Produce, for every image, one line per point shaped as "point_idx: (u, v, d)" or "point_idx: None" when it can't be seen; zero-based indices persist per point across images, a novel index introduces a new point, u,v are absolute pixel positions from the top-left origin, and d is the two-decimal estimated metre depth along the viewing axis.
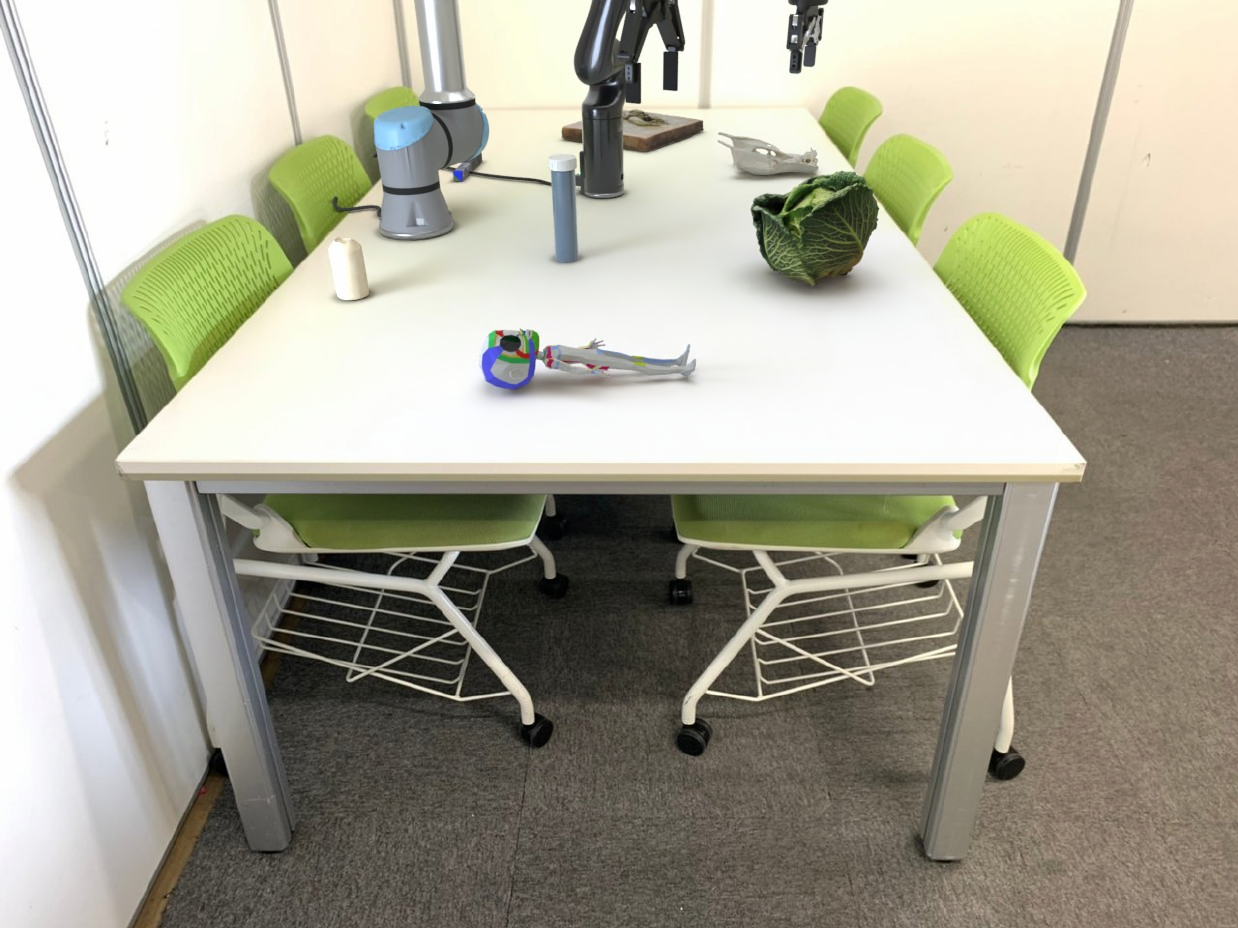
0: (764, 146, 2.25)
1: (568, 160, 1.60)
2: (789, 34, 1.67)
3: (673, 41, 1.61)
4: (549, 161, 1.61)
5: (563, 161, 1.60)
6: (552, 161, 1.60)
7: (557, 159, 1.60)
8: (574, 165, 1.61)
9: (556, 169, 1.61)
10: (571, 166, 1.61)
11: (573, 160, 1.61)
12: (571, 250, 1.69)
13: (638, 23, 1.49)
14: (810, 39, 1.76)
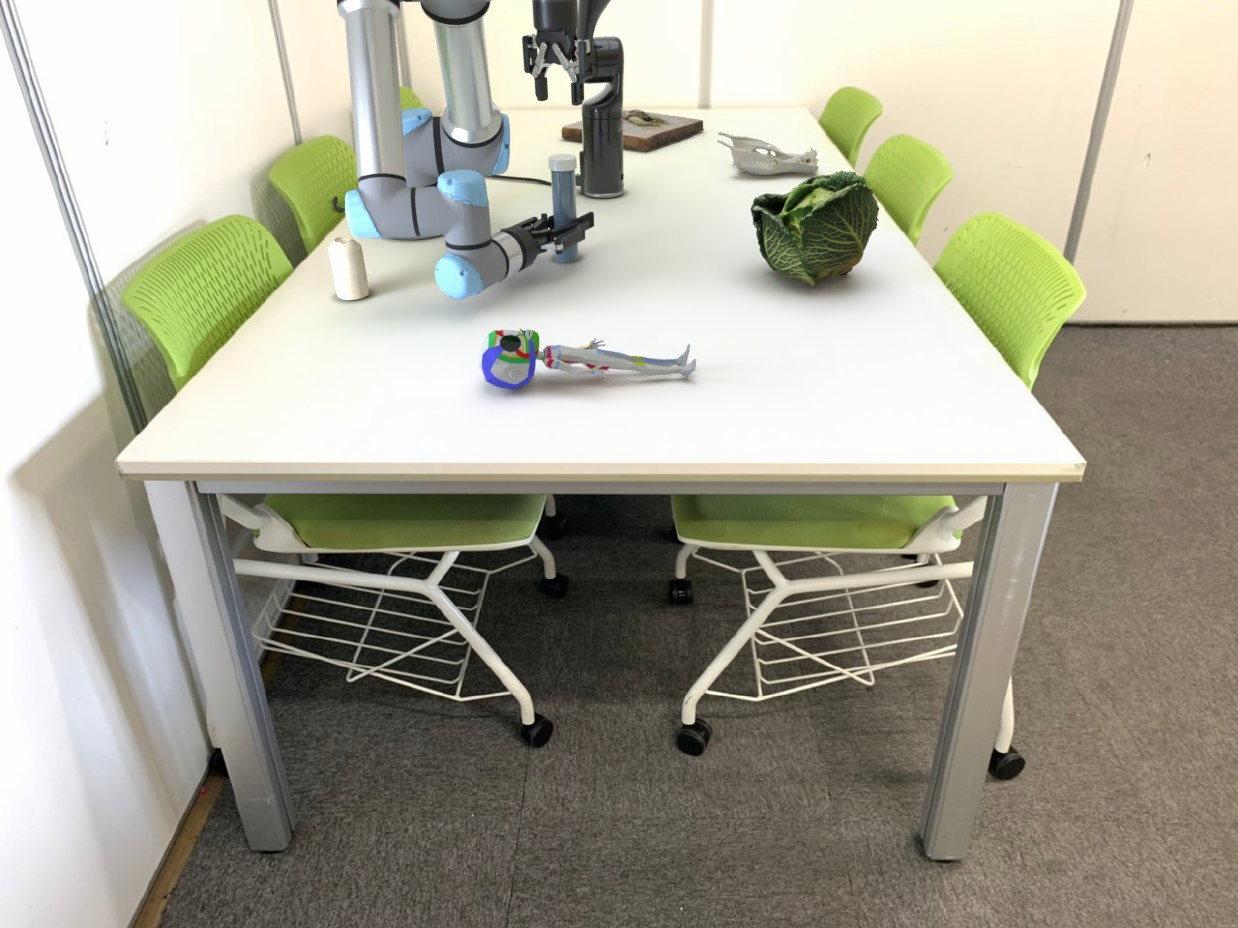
0: (764, 146, 2.25)
1: (568, 160, 1.60)
2: None
3: None
4: (549, 161, 1.61)
5: (563, 161, 1.60)
6: (552, 161, 1.60)
7: (557, 159, 1.60)
8: (574, 165, 1.61)
9: (556, 169, 1.61)
10: (571, 166, 1.61)
11: (573, 160, 1.61)
12: (571, 250, 1.69)
13: None
14: (577, 74, 1.52)
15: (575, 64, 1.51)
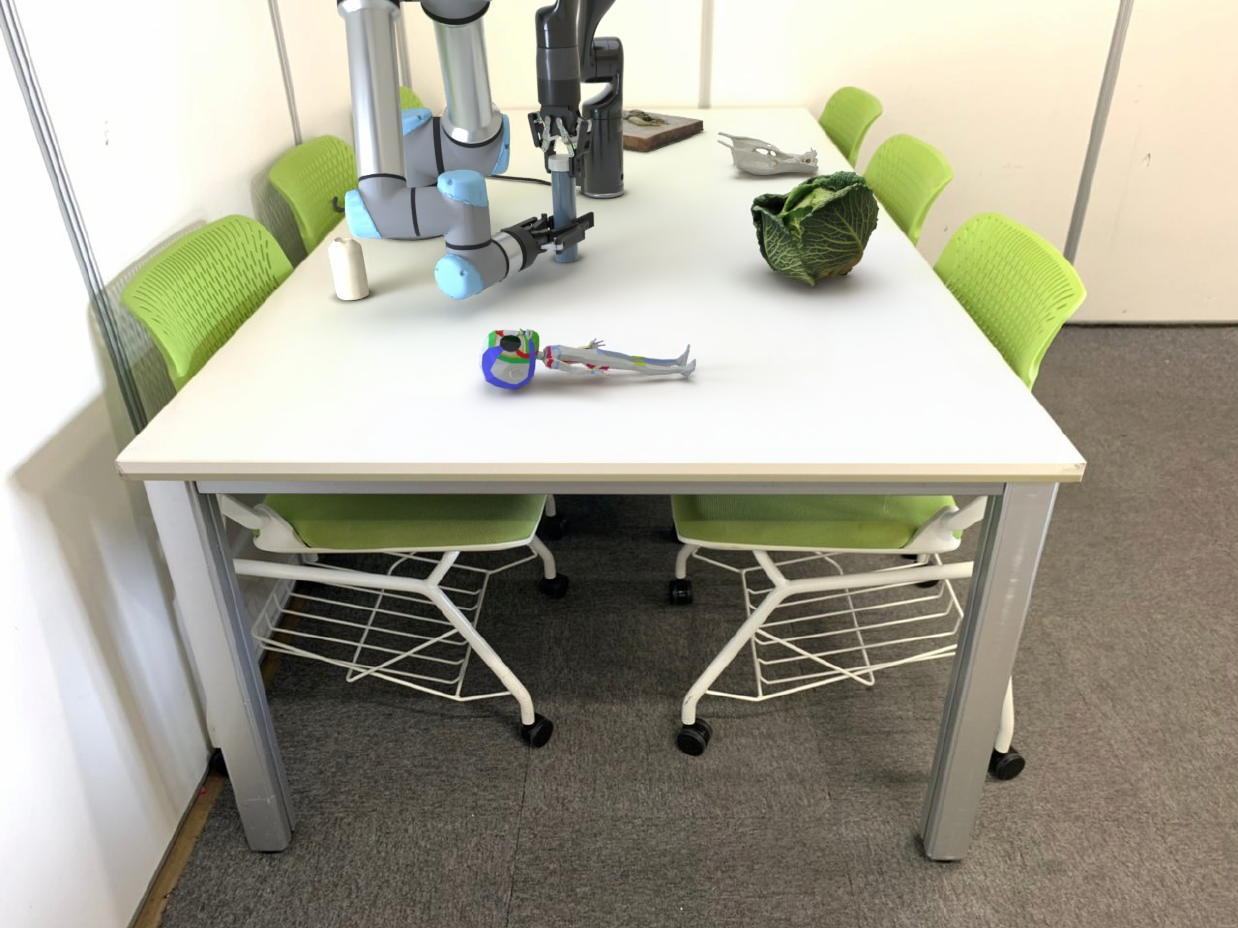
0: (764, 146, 2.25)
1: (568, 160, 1.60)
2: None
3: None
4: (549, 161, 1.61)
5: (563, 161, 1.60)
6: (552, 161, 1.60)
7: (557, 159, 1.60)
8: None
9: (556, 169, 1.61)
10: None
11: None
12: (571, 250, 1.69)
13: None
14: (575, 148, 1.59)
15: (575, 139, 1.58)
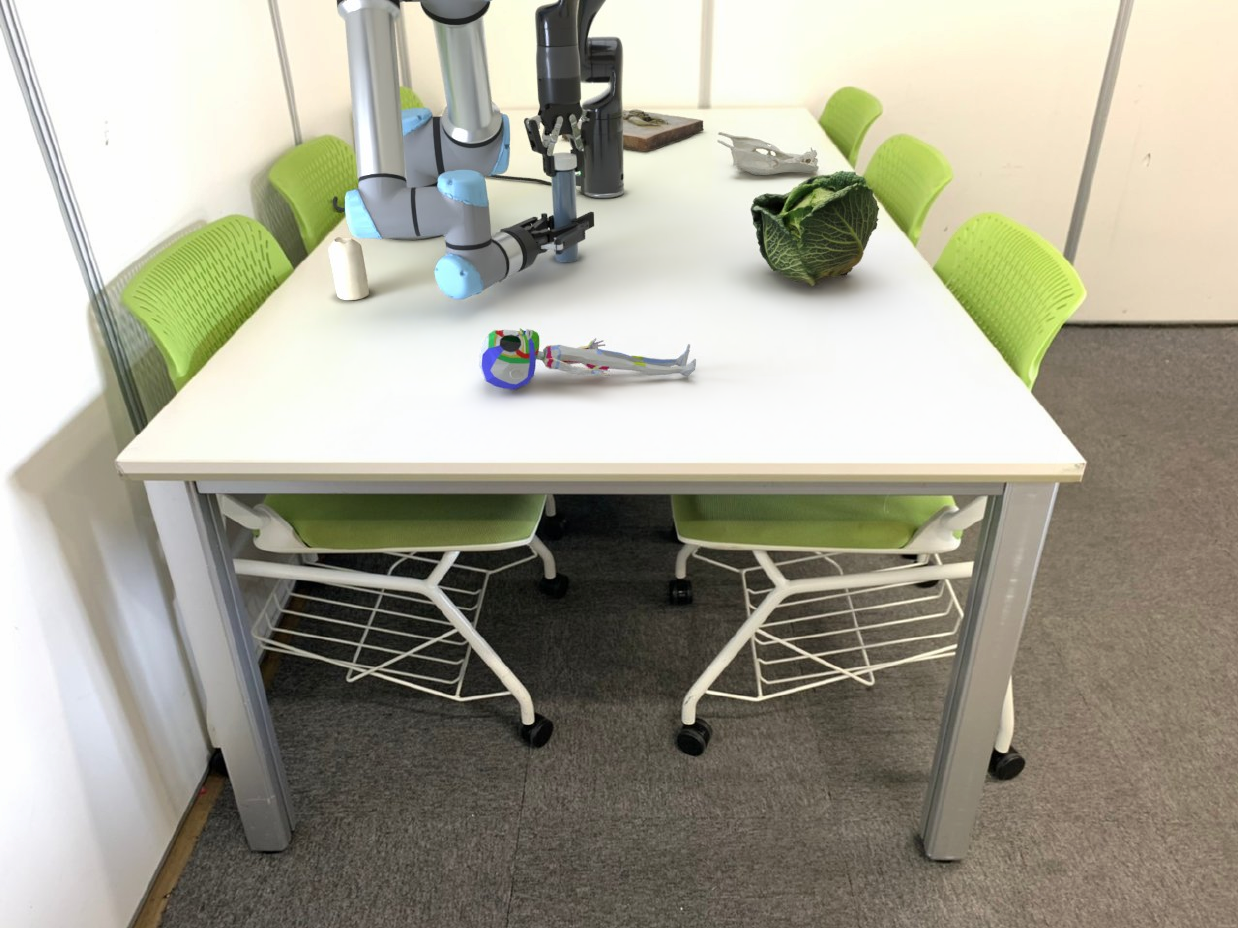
0: (764, 146, 2.25)
1: None
2: (529, 138, 1.57)
3: None
4: (562, 162, 1.60)
5: (575, 157, 1.61)
6: (568, 160, 1.60)
7: (569, 157, 1.60)
8: None
9: (572, 167, 1.61)
10: None
11: None
12: (571, 250, 1.69)
13: None
14: (575, 143, 1.62)
15: None
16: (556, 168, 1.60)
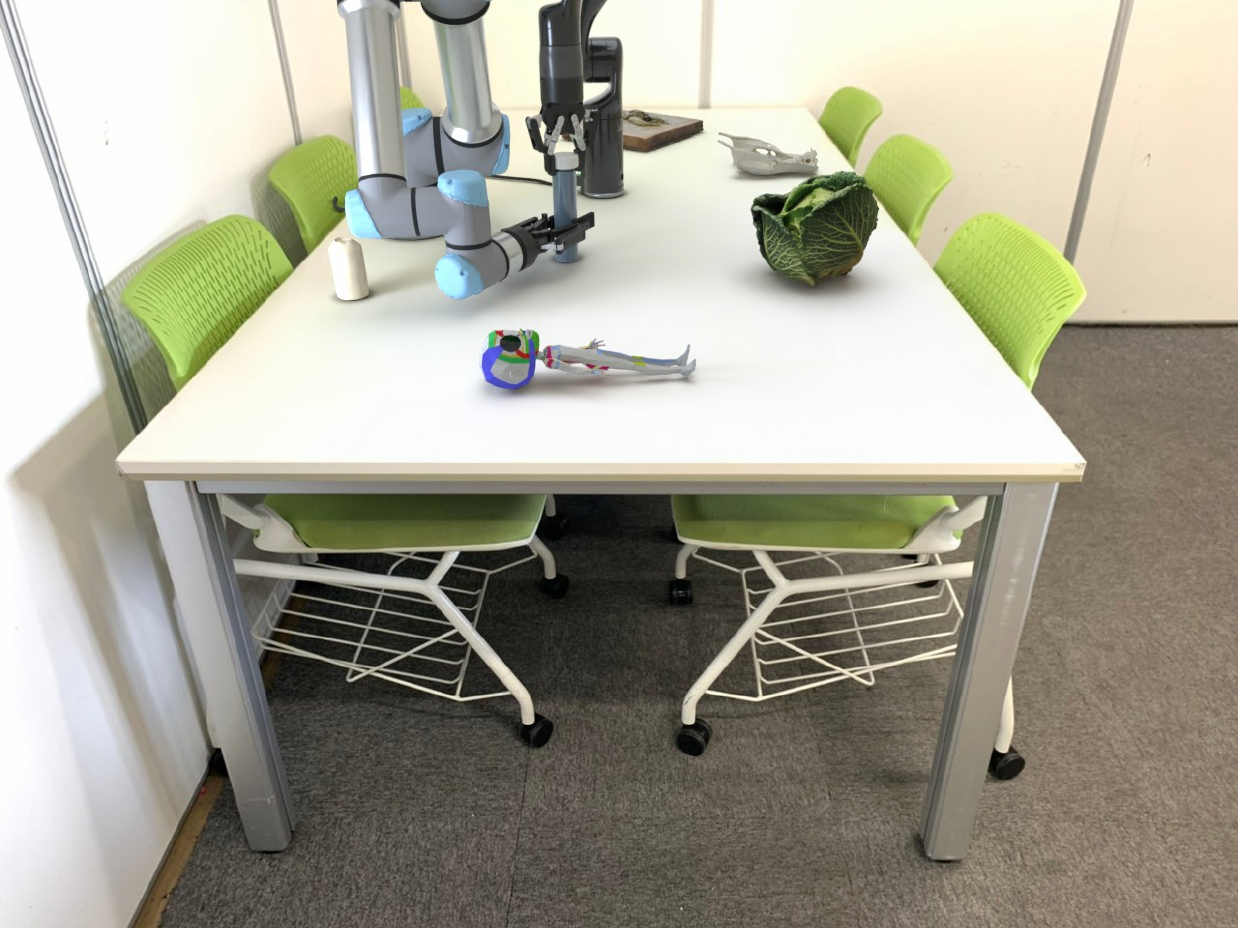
0: (764, 146, 2.25)
1: None
2: (530, 136, 1.58)
3: None
4: (577, 159, 1.61)
5: None
6: (577, 156, 1.62)
7: (574, 153, 1.62)
8: None
9: None
10: None
11: None
12: (571, 250, 1.69)
13: None
14: None
15: None
16: (573, 167, 1.61)
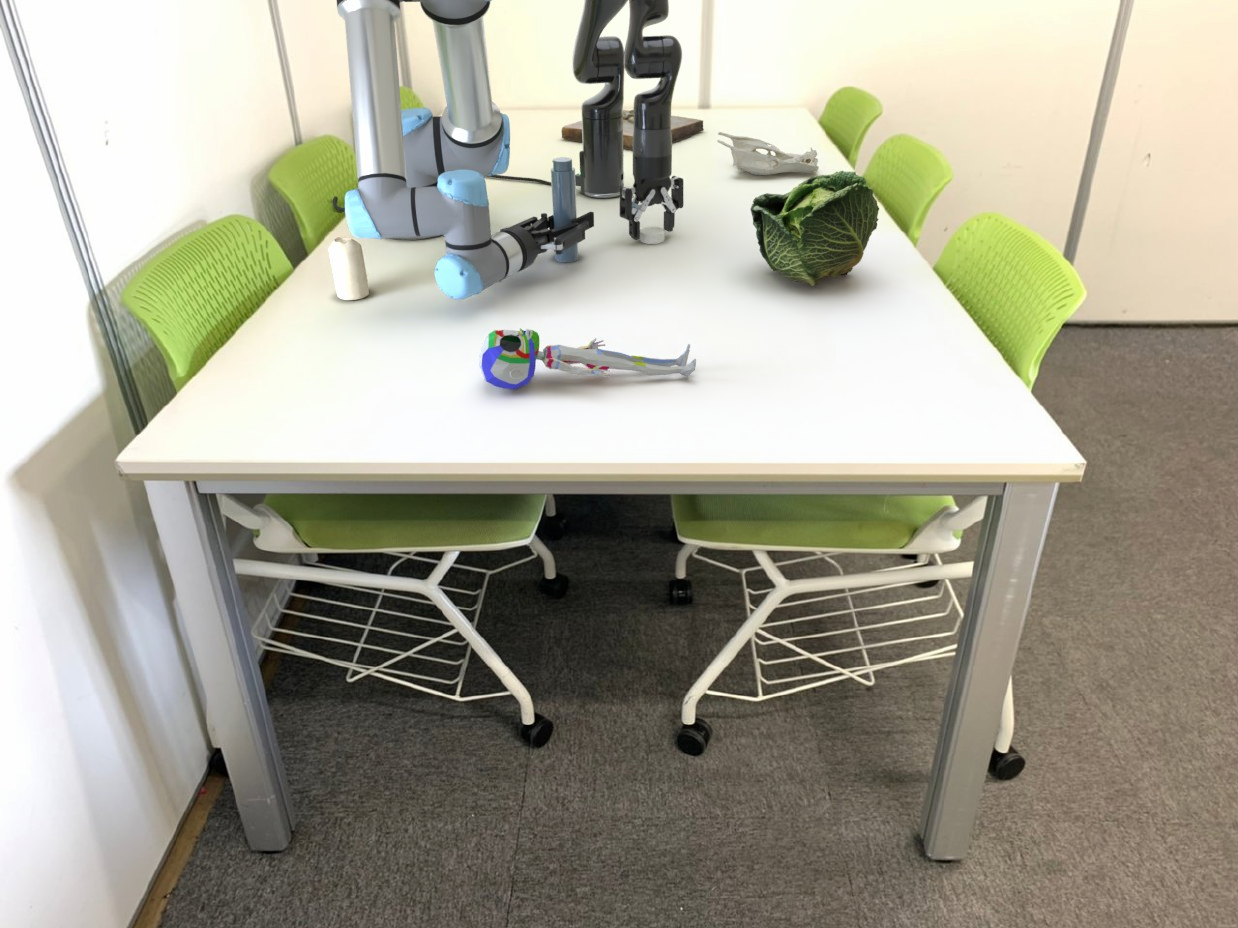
0: (764, 146, 2.25)
1: (652, 227, 1.81)
2: (620, 204, 1.73)
3: None
4: (664, 233, 1.79)
5: None
6: (663, 231, 1.80)
7: (660, 228, 1.80)
8: None
9: None
10: None
11: None
12: (571, 250, 1.69)
13: None
14: None
15: None
16: (661, 241, 1.79)
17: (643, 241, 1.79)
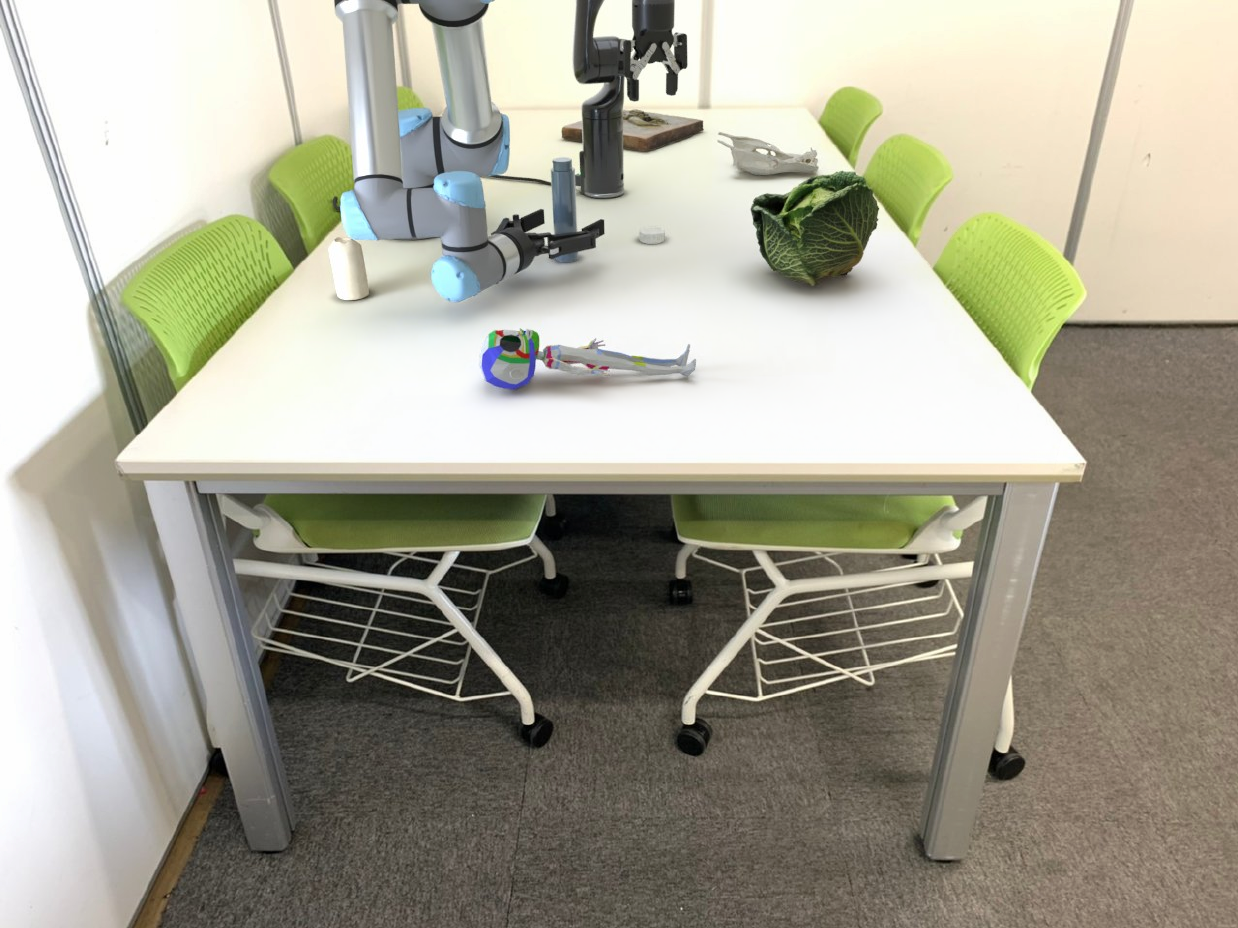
0: (764, 146, 2.25)
1: (652, 227, 1.81)
2: (618, 59, 1.59)
3: None
4: (664, 233, 1.79)
5: None
6: (663, 231, 1.80)
7: (660, 228, 1.80)
8: None
9: None
10: None
11: None
12: None
13: None
14: (671, 66, 1.66)
15: None
16: (661, 241, 1.79)
17: (643, 241, 1.79)
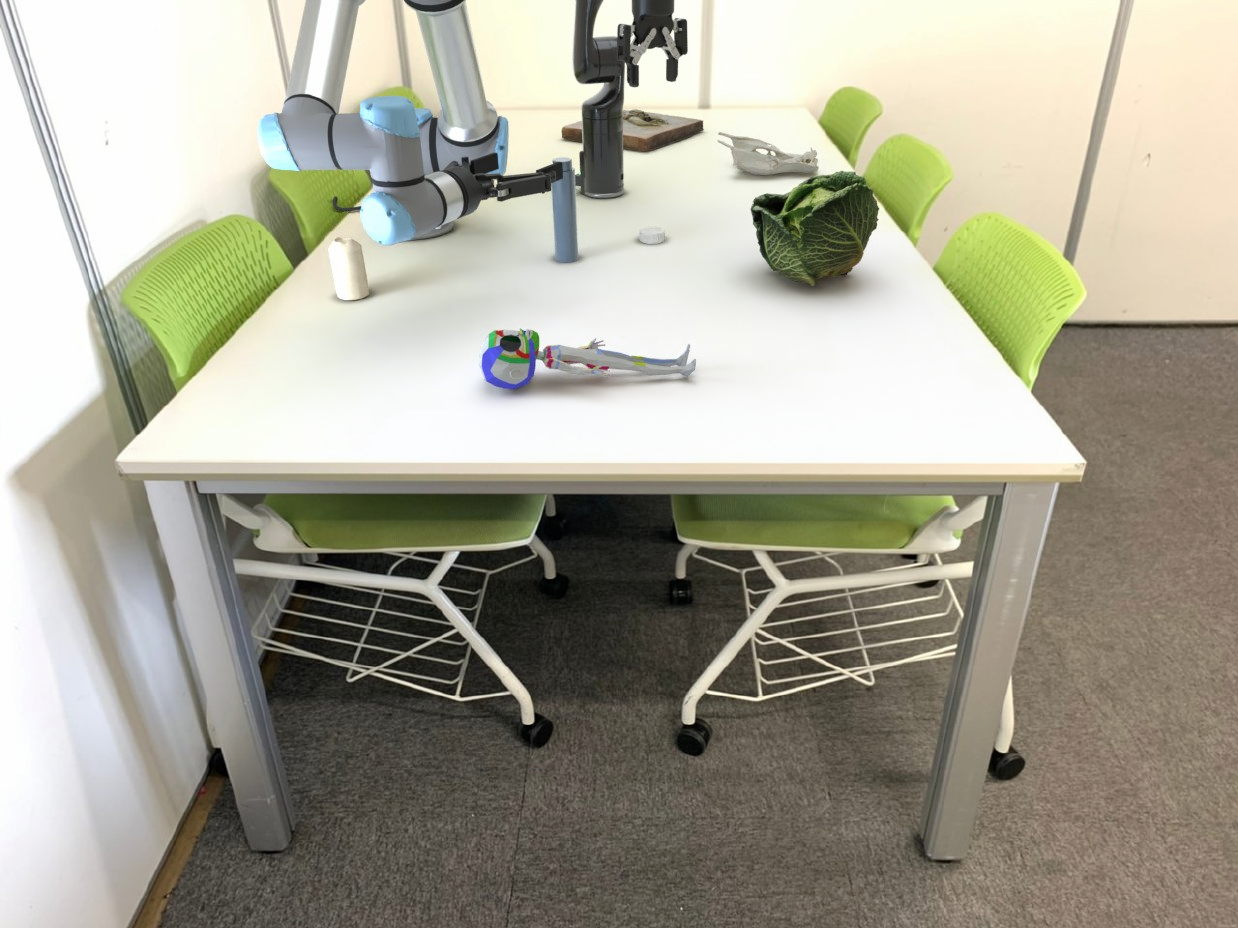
0: (764, 146, 2.25)
1: (652, 227, 1.81)
2: (618, 44, 1.58)
3: None
4: (664, 233, 1.79)
5: None
6: (663, 231, 1.80)
7: (660, 228, 1.80)
8: None
9: None
10: None
11: None
12: (571, 250, 1.69)
13: None
14: None
15: None
16: (661, 241, 1.79)
17: (643, 241, 1.79)
